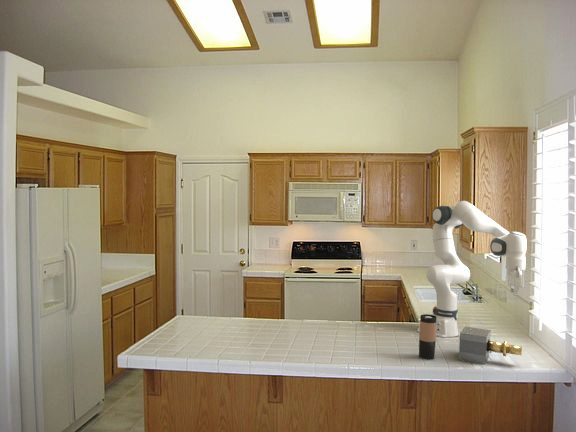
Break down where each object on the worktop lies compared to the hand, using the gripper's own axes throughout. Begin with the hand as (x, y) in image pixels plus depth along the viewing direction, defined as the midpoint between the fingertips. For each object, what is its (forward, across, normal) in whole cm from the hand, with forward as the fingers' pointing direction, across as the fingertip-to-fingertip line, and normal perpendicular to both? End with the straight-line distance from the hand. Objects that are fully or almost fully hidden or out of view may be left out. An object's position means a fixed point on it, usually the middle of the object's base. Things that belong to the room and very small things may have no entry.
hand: (513, 293), depth 259 cm
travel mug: (+31, -16, +40) cm, 53 cm away
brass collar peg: (+28, -12, +5) cm, 31 cm away
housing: (+31, -9, +18) cm, 37 cm away
